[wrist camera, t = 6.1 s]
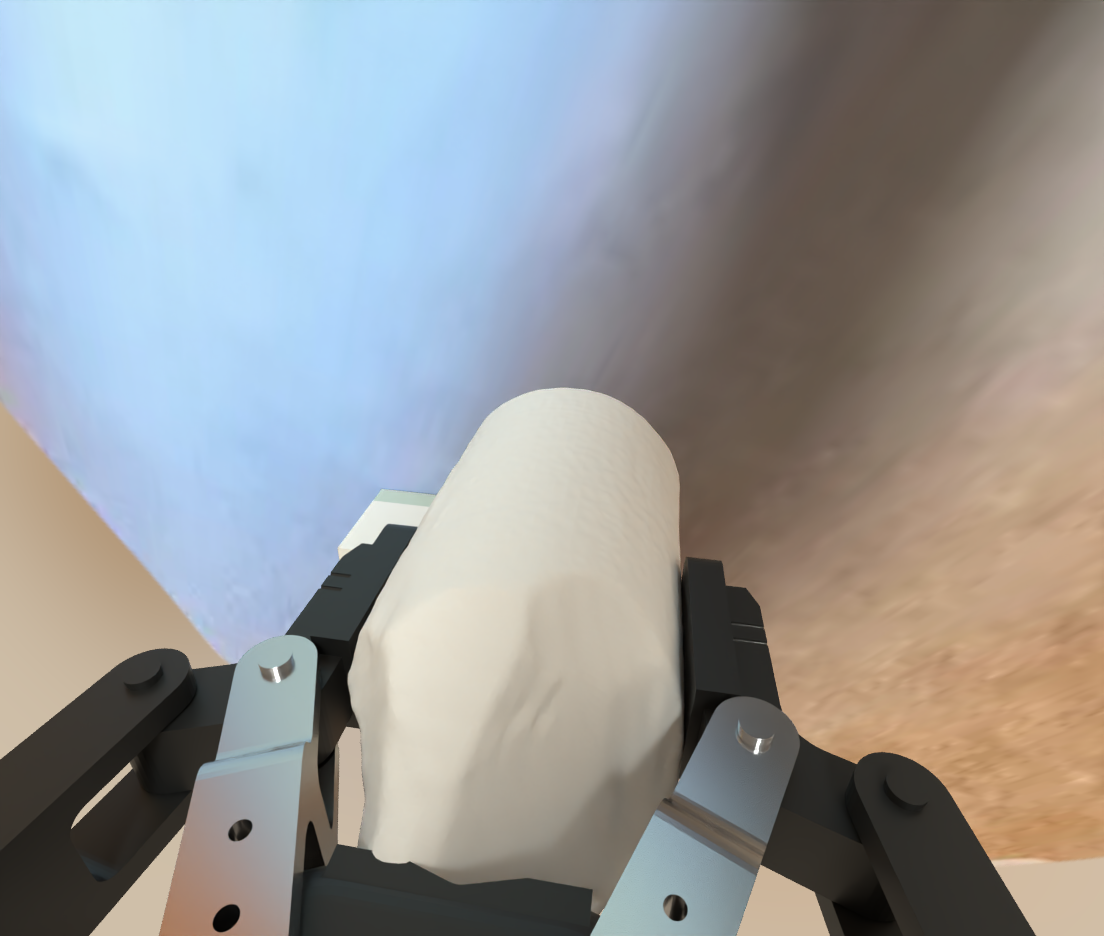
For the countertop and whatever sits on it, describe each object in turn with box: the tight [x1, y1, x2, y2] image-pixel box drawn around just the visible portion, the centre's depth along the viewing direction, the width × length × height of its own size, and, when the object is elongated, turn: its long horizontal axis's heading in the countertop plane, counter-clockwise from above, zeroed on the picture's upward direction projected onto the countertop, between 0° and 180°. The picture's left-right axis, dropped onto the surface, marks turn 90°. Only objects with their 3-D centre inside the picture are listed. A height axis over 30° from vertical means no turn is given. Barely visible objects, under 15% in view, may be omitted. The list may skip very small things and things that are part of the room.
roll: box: [348, 387, 684, 915], centre depth 12 cm, size 6×12×6 cm
